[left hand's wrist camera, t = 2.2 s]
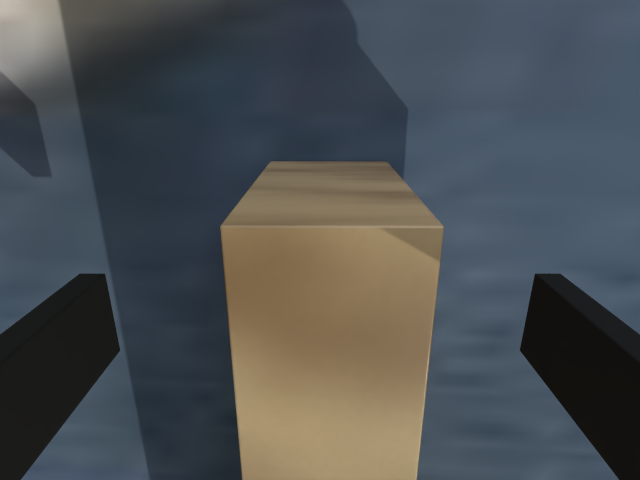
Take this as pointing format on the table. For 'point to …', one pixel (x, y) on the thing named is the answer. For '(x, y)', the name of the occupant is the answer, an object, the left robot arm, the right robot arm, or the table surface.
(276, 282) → the pale wooden bar
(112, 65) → the table surface
